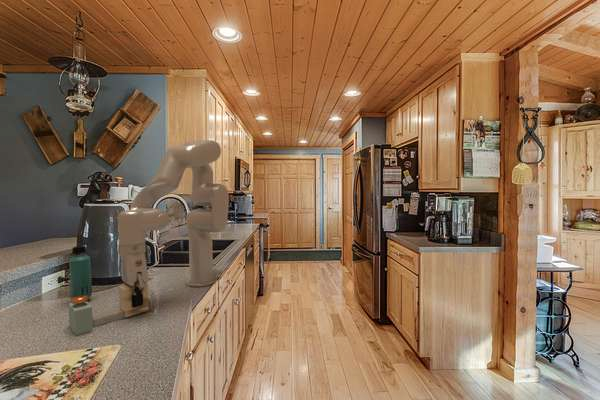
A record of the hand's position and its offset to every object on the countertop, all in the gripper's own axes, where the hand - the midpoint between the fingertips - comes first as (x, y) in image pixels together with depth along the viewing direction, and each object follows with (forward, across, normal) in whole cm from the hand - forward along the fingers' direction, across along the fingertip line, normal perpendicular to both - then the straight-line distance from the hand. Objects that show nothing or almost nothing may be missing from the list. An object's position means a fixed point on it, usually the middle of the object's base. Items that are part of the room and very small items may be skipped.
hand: (134, 303), depth 98 cm
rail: (+3, 0, +4) cm, 5 cm away
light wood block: (+3, 0, 0) cm, 3 cm away
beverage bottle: (+3, +25, +9) cm, 27 cm away
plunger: (0, 0, +14) cm, 14 cm away
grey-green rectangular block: (+3, 0, +14) cm, 15 cm away
